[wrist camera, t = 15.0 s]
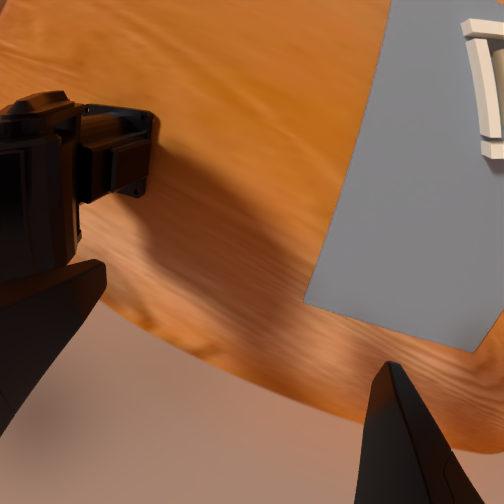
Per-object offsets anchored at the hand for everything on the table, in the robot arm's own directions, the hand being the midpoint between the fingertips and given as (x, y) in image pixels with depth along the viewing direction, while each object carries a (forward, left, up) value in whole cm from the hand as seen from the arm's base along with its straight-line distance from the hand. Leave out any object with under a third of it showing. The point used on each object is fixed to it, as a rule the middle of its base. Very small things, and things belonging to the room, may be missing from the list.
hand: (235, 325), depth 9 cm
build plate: (+10, +5, -13) cm, 17 cm away
